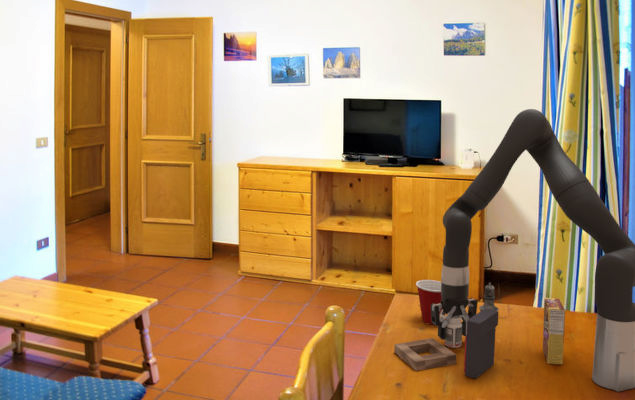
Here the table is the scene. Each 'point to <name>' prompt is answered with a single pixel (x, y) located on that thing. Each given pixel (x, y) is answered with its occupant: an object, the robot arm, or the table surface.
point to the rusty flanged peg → (489, 299)
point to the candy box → (553, 330)
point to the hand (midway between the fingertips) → (453, 336)
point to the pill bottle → (453, 332)
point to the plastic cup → (428, 297)
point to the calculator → (480, 342)
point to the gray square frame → (436, 359)
